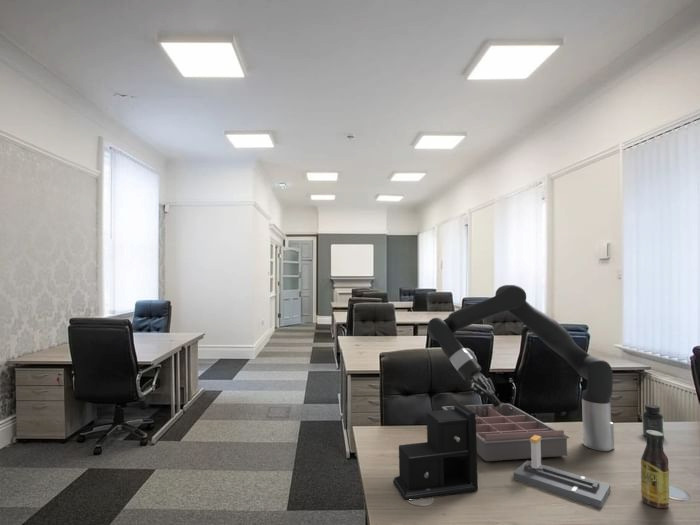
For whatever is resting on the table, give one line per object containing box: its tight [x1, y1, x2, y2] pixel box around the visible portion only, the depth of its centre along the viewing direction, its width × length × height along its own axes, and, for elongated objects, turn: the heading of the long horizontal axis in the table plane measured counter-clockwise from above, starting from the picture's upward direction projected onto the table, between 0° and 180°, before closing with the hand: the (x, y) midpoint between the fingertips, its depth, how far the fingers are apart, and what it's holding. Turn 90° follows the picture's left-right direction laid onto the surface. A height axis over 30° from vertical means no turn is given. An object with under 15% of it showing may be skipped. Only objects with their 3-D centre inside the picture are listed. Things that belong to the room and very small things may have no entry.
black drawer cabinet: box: [392, 401, 479, 501], centre depth 121 cm, size 23×11×24 cm, turn 102°
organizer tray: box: [441, 403, 570, 462], centre depth 157 cm, size 32×40×10 cm
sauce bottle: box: [640, 430, 670, 509], centre depth 112 cm, size 7×6×20 cm
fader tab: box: [530, 435, 543, 471], centre depth 127 cm, size 4×4×10 cm
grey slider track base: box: [513, 460, 612, 509], centre depth 122 cm, size 24×12×4 cm, turn 46°
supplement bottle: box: [641, 404, 665, 437], centre depth 161 cm, size 7×7×12 cm
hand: (498, 405), depth 136 cm, fingers closed
